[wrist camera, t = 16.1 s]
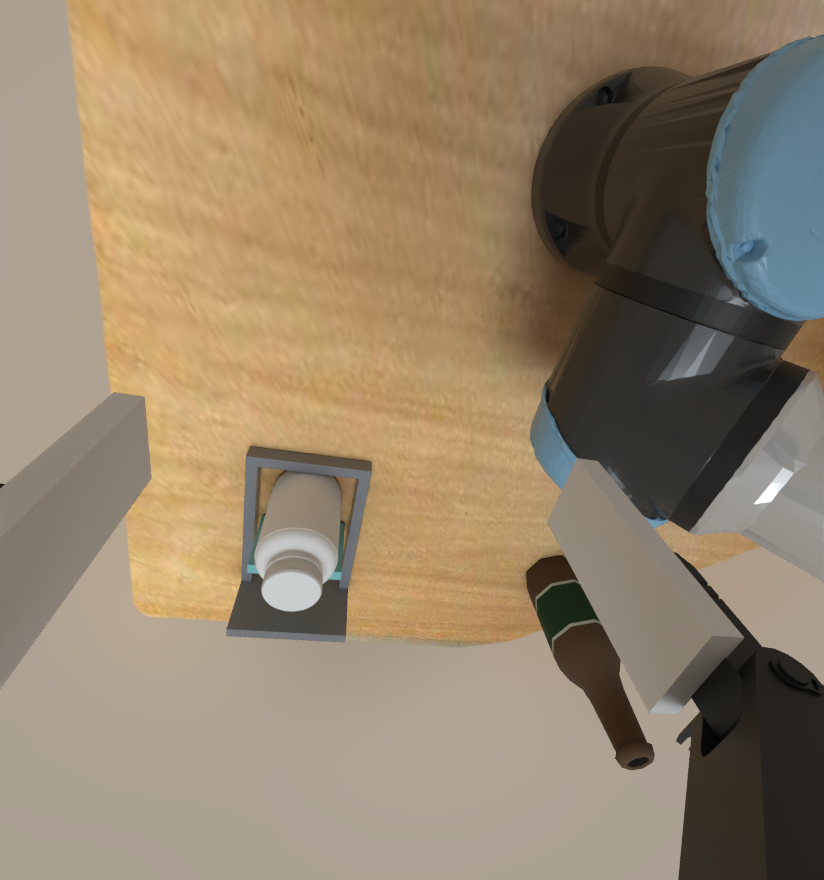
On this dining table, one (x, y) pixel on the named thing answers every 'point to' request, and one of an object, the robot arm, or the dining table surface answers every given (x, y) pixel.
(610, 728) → the beer bottle
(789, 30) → the dining table surface
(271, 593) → the pill bottle
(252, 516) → the frame
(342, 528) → the plate
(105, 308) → the dining table surface
